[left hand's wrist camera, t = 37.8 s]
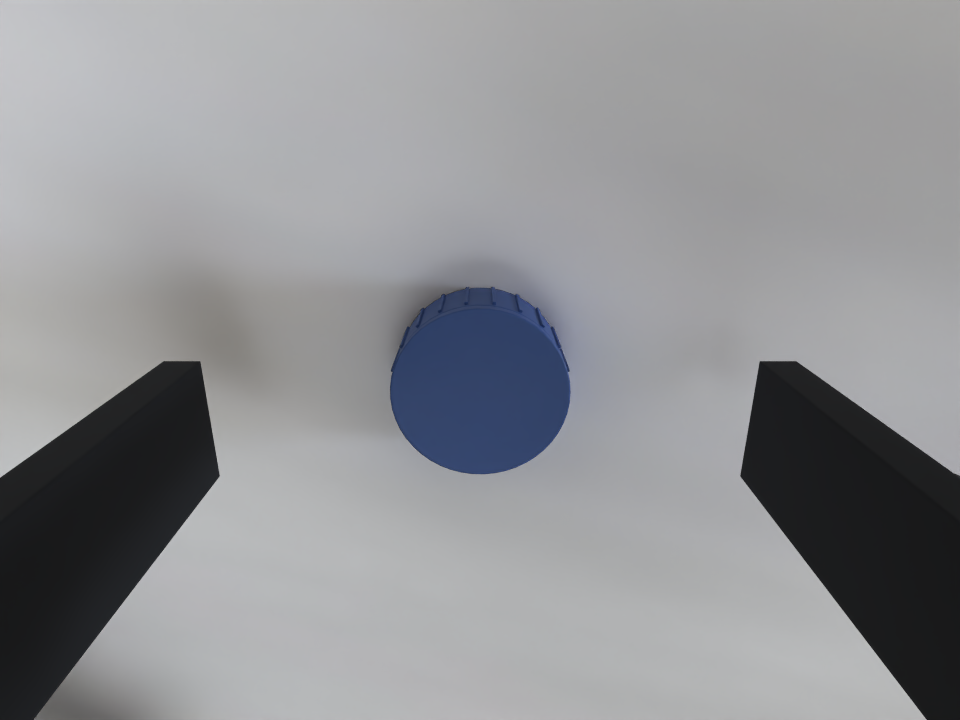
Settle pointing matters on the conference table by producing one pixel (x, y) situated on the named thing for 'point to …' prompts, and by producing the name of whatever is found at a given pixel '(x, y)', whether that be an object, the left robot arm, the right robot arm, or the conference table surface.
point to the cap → (480, 382)
